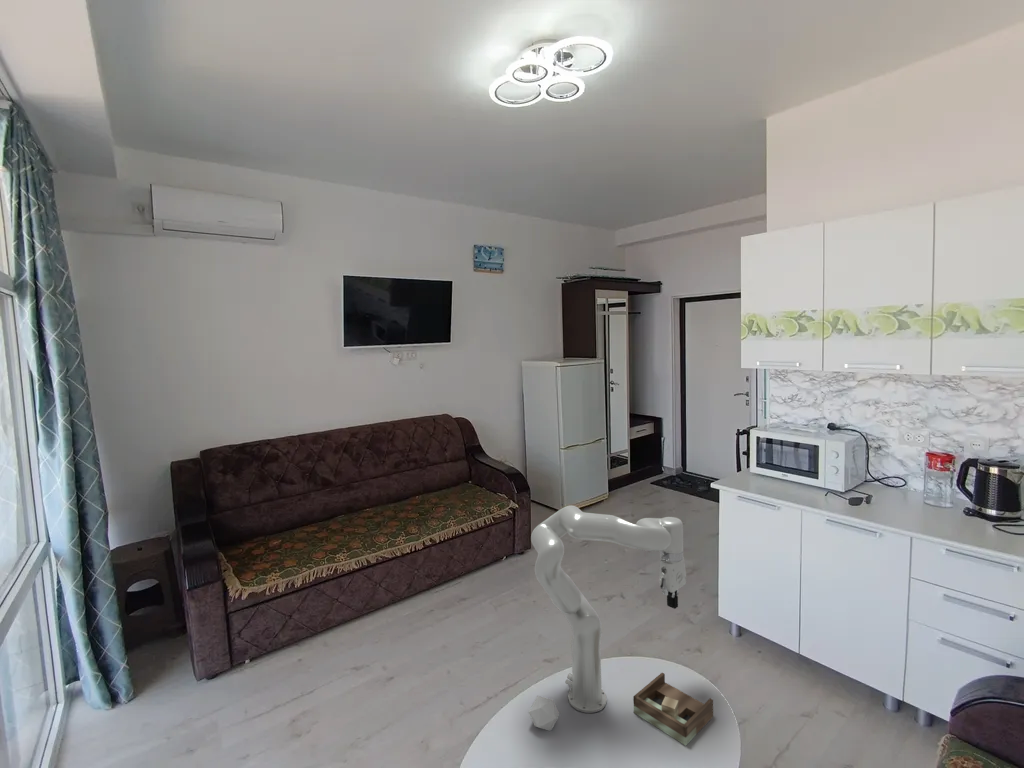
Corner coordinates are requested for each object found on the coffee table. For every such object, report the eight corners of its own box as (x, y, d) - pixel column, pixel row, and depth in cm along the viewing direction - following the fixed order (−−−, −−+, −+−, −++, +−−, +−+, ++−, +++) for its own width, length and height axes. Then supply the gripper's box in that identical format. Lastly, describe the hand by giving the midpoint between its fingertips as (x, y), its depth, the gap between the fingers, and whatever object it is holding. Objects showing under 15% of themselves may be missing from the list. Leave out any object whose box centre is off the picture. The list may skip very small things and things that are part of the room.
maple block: (661, 716, 151) (661, 704, 151) (665, 708, 155) (665, 696, 154) (675, 721, 149) (674, 709, 149) (678, 712, 152) (678, 700, 152)
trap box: (633, 712, 157) (633, 696, 156) (662, 687, 167) (662, 672, 167) (685, 745, 143) (685, 728, 143) (713, 716, 154) (713, 699, 153)
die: (563, 721, 155) (550, 687, 159) (563, 727, 147) (549, 691, 151) (539, 734, 154) (526, 699, 159) (537, 740, 146) (524, 704, 151)
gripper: (669, 565, 159) (670, 619, 160) (693, 551, 169) (694, 602, 170) (649, 558, 165) (650, 610, 166) (673, 544, 174) (674, 594, 176)
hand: (672, 606), depth 168 cm, fingers closed
